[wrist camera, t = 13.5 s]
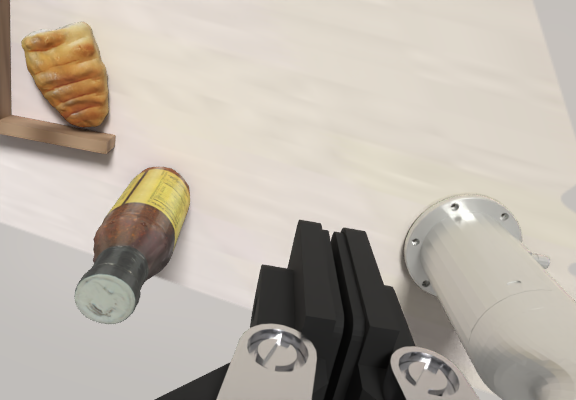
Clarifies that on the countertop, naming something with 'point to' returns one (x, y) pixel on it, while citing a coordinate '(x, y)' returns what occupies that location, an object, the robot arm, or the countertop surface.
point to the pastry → (69, 72)
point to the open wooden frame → (36, 129)
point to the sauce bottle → (133, 244)
